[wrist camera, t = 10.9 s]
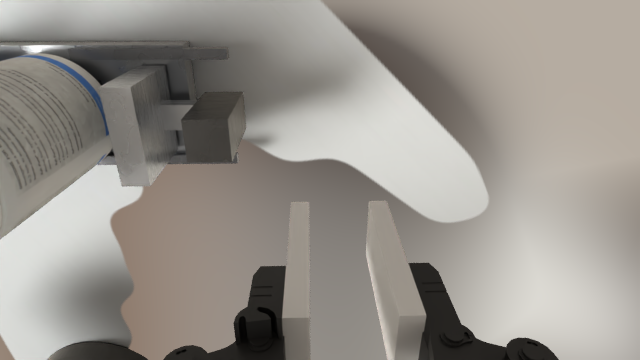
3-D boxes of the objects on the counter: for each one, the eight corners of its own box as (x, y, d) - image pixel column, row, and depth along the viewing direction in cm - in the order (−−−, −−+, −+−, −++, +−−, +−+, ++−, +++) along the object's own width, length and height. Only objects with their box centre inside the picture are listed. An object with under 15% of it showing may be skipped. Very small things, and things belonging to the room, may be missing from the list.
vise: (242, 153, 38) (224, 201, 30) (-16, 156, 38) (-104, 205, 30) (231, 40, 34) (208, 61, 26) (-61, 42, 33) (-179, 63, 25)
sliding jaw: (248, 148, 36) (234, 188, 29) (155, 148, 35) (119, 189, 29) (241, 64, 32) (224, 88, 26) (139, 65, 32) (94, 89, 26)
